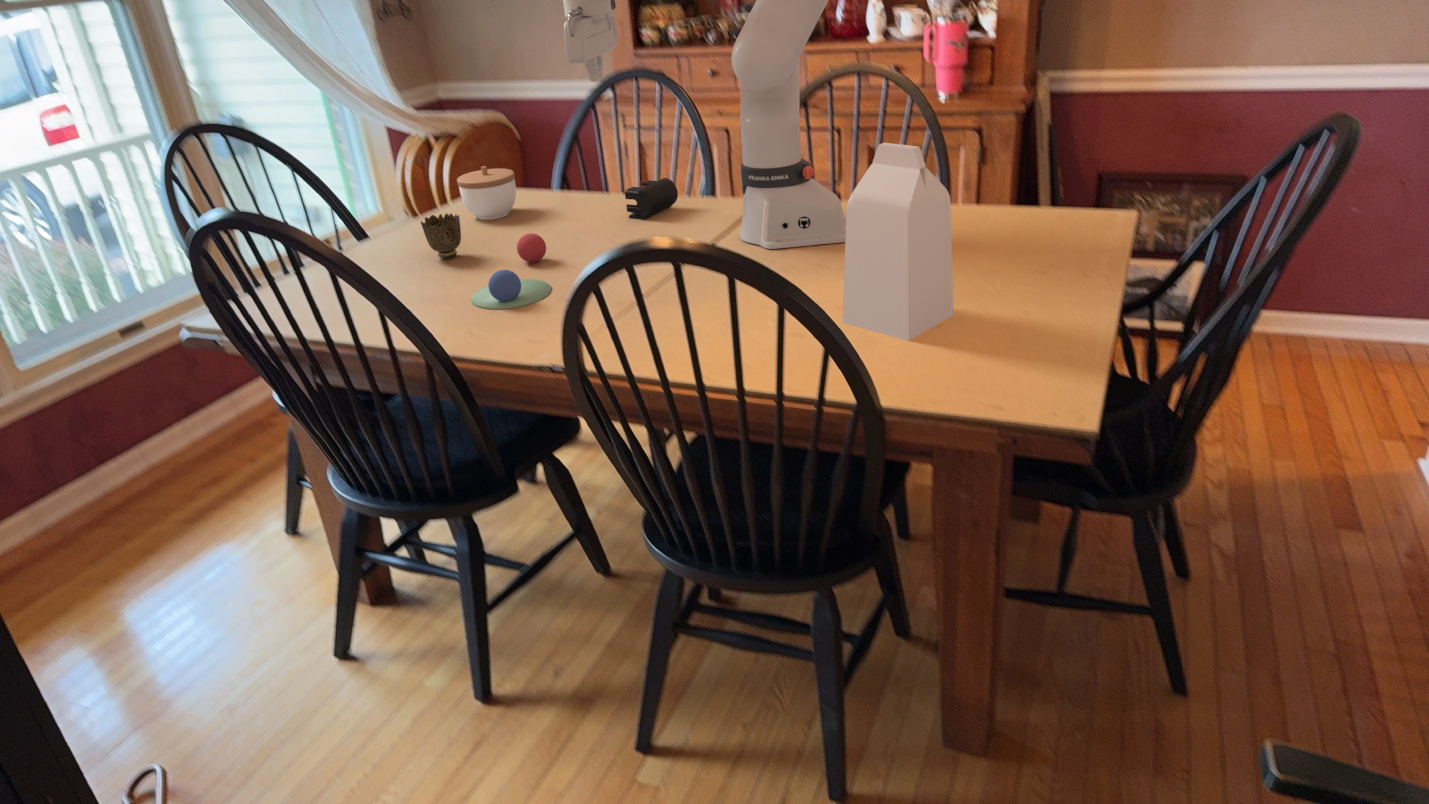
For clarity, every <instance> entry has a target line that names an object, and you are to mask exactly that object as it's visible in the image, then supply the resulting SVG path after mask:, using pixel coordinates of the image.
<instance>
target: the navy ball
mask: <svg viewBox="0 0 1429 804" xmlns="http://www.w3.org/2000/svg"><path fill="white" fill-rule="evenodd" d="M487 286H489V291H490V293H491V295H492V296H493V297H494V298H495V299H497V300H499V301H502V302H509V301H512V300H514V299H515V298H516V297H517V296H518V295H519V293H520V291H521V282H520V277H519V276H518V275H517V273H515V272H514V271H512V270H509V269H500V270H497V271H495V272H494V273H492V275H491V276H490V278H489V280H488V285H487Z"/></svg>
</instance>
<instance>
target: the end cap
mask: <svg viewBox="0 0 1429 804" xmlns="http://www.w3.org/2000/svg"><path fill="white" fill-rule="evenodd" d="M640 185H641V187H639V186H631V187H630V188H629V187H628V188H627V189H626V190H624V197H625V200H633V201H635V202H636V204H626V212H627V213H631V214H629V215H628V218H629V219H631V220H641V221H644V220H647V219H650V218H651V217H654V216H656V215H658V214H660V213H662V212H664V211H666V210H668V209H670V208H672V206H673V205H674V204H675V203H676V202H677V201H678V200H677V199H678V197H679V191H678V188H677V185H676V184H675V183H674V182H673V181H672V180H671V179H670V178H668V177H663V178H661V179H659V180H649V179H647V180H645V181H643V182H641V183H640Z"/></svg>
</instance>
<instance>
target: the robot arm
mask: <svg viewBox="0 0 1429 804" xmlns="http://www.w3.org/2000/svg"><path fill="white" fill-rule="evenodd" d="M828 2H829V0H755V2H754V4H753V7H752V8H751V10H750V13H749V15H748V17H746V20H745V22H744V24H743V26H742V28H741V30H740V32H739V34H738V36H737V38H736V40H735V42H734V44H733V46H732V51H731V56H730V57H731V66H732V70H733V72H734V75H735V77H736V78H737V79H738V81H739V82H740V109H739V111H740V112H739V114H740V115H739V129H740V144H741V156H742V162H741V164H740V173H739V174H740V184H741V185H740V186H741V187H740V188H741V192H742V194H743V205H742V206H743V209H742V219H741V225H740V230H739V233H738V237H739V239H740V240H742V241H743V242H746V243H749V244H754V245H759V246H760V247H763V248H765V249H768V250H776V249H785V248H796V247H808V246H815V245H816V246H817V245H828V244H837V243H839V244H840V243H845V239H846V216H845V215H844V213H845V212H844V210H843V205H842V203H841V200H840V198H839V197H838V195H837V194H836V193H834V192H833V191H832V190H830V189H828V188H827V187H825V186H824V185H823V184H821V183H819V182H818V181H817V180H816V179H814V178H813V176H814V174H815V169H814V168H813V163H812V161H811V160H810V159H808V161H807V160H806V159H804V158H802V150H801V149H802V147H801V125H800V123H801V122H800V121H801V120H800V118H801V117H800V107H801V106H800V101H801V100H800V97H801V96H800V90H801V88H800V57H801V54H802V53H803V50H804V49H805V46H806V45H807V43H808V41H809V38H810V37H811V35H812V33H813V32H814V29H815V27H816V26H817V23H818V21H819V19H820V17H821V15H822V14H823V12H824V10H825V8H826V6H827V4H828ZM562 3H563V10H564V16H565V17H566V18H567V20H565V22H564V24H563V33H564V34H563V36H564V48H565V56H566V58H567V61H568V64H581V63H582V64H583V63H584V65H585V67H586V69H587V72H588V76H589V77H588V78H589V81H590V82H591V83H592V82H593V83H594V82H599V81H600V80H602V79H603V78H604V74H603V73H604V72H603V66H604V54H607V53H609V52H610V51H613V50H615V49H616V48H617V44H618V30H617V29H618V28H617V27H618V26H617V20H616V19H617V18H616V12H615V11H616V10H617V6H618V5H617V1H616V0H562Z"/></svg>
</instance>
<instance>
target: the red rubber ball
mask: <svg viewBox="0 0 1429 804" xmlns="http://www.w3.org/2000/svg"><path fill="white" fill-rule="evenodd" d="M516 251H517V254H518V256H519V257H520V259H522V260H523V261H524V262H527V263H538V262H540V261H541V260H542V259H543V258H544V257H545V256H546V252H547V245H546V241H545V240H544V239H543V237H541V236H540V235H539V234H536V233H533V232H532V233H531V232H530V233H525V234H524V235H522V236H521V237H520V238H519V240H518V241H517V244H516Z"/></svg>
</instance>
